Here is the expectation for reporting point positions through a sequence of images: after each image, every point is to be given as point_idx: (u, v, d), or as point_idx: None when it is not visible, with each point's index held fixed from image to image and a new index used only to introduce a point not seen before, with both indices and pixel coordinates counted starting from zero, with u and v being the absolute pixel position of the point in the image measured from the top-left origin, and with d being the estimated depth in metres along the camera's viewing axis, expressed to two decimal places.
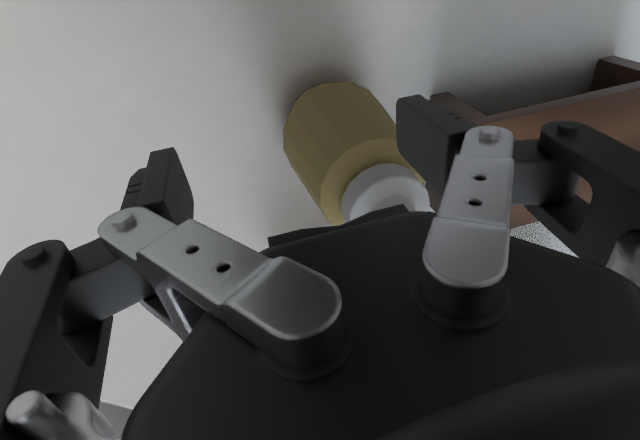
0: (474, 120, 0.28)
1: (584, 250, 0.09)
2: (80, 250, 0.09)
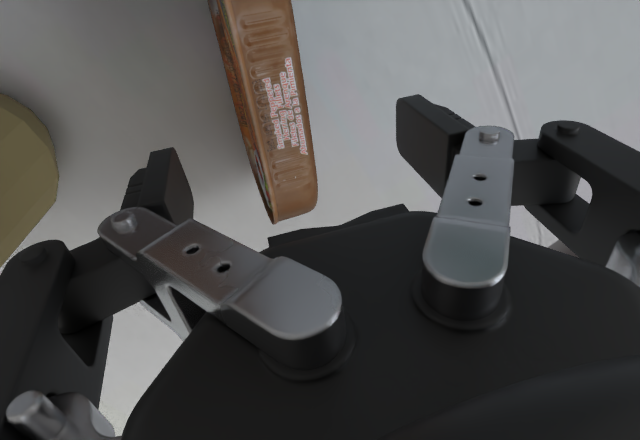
0: None
1: (585, 250, 0.09)
2: (80, 250, 0.09)
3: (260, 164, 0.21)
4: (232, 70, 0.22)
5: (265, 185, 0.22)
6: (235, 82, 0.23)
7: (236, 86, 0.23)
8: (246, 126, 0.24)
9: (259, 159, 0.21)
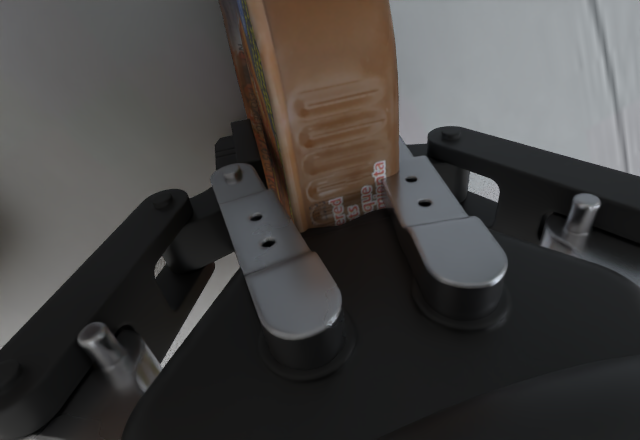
0: None
1: None
2: (192, 201, 0.10)
3: None
4: (260, 130, 0.15)
5: None
6: (264, 147, 0.15)
7: (265, 152, 0.15)
8: None
9: None
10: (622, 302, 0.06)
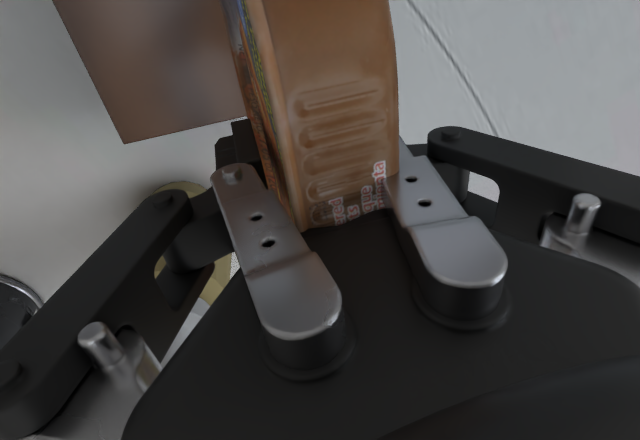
0: None
1: None
2: (192, 201, 0.10)
3: None
4: (260, 131, 0.15)
5: None
6: (265, 147, 0.15)
7: (266, 152, 0.15)
8: None
9: None
10: (622, 302, 0.06)
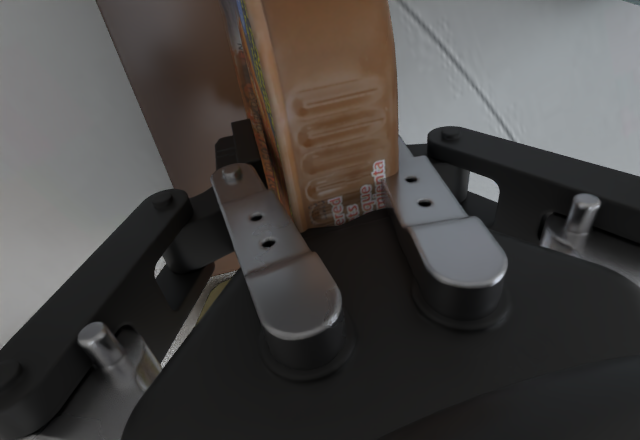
0: None
1: None
2: (192, 201, 0.10)
3: None
4: (259, 130, 0.15)
5: None
6: (264, 146, 0.15)
7: (265, 152, 0.15)
8: None
9: None
10: (622, 302, 0.06)
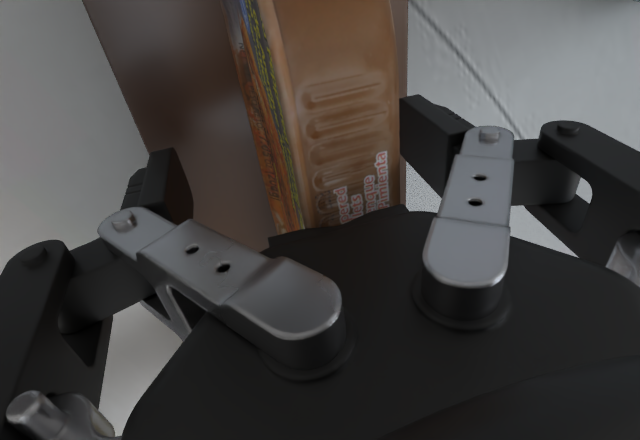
0: None
1: (585, 250, 0.09)
2: (80, 250, 0.09)
3: None
4: (260, 127, 0.15)
5: None
6: (264, 143, 0.16)
7: (266, 148, 0.16)
8: (277, 199, 0.17)
9: None
10: (618, 311, 0.06)
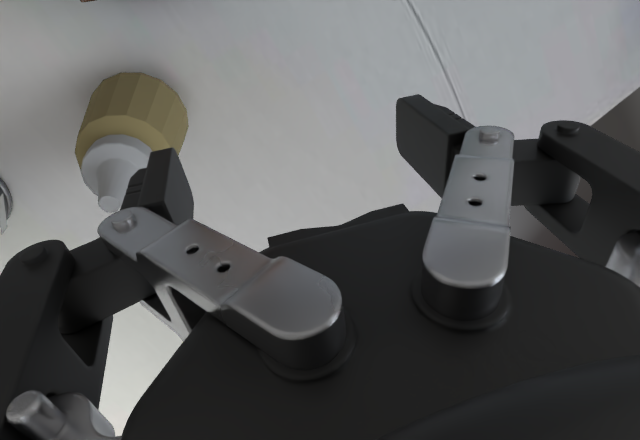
0: None
1: (585, 250, 0.09)
2: (80, 250, 0.09)
3: None
4: None
5: None
6: None
7: None
8: None
9: None
10: (618, 311, 0.06)
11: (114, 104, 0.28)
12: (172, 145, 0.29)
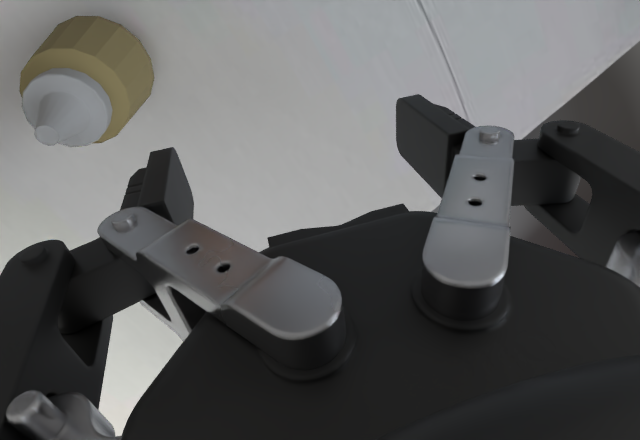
0: None
1: (585, 250, 0.09)
2: (80, 250, 0.09)
3: None
4: None
5: None
6: None
7: None
8: None
9: None
10: (618, 311, 0.06)
11: (62, 39, 0.26)
12: (127, 86, 0.27)
